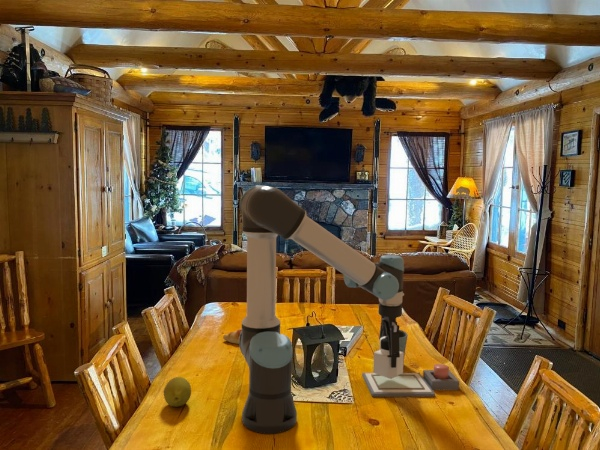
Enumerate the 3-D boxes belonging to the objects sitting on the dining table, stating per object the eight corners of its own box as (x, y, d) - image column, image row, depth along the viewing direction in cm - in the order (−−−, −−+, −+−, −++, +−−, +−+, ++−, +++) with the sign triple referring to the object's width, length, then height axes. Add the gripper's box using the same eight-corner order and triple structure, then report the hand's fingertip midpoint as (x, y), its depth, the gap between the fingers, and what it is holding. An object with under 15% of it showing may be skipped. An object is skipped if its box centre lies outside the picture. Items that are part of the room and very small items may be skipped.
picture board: (434, 396, 152) (435, 391, 152) (372, 396, 151) (372, 392, 151) (419, 375, 168) (419, 371, 168) (362, 375, 167) (362, 371, 167)
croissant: (222, 352, 195) (220, 338, 191) (224, 333, 204) (223, 320, 199) (274, 351, 196) (274, 338, 191) (275, 333, 204) (275, 319, 200)
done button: (450, 381, 159) (451, 369, 159) (436, 381, 159) (436, 369, 158) (445, 375, 164) (445, 364, 164) (431, 375, 164) (431, 364, 163)
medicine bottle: (403, 373, 159) (404, 337, 158) (391, 379, 154) (392, 343, 153) (384, 367, 164) (386, 332, 163) (372, 373, 159) (374, 337, 158)
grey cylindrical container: (388, 357, 185) (390, 326, 184) (411, 365, 178) (413, 333, 176) (372, 364, 178) (373, 332, 177) (395, 372, 171) (397, 339, 169)
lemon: (168, 396, 147) (168, 371, 147) (194, 397, 148) (194, 372, 147) (158, 414, 137) (158, 386, 136) (186, 414, 137) (186, 387, 136)
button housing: (458, 390, 157) (459, 381, 157) (431, 390, 157) (432, 381, 157) (448, 378, 166) (449, 370, 166) (422, 378, 166) (423, 370, 165)
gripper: (412, 312, 146) (409, 384, 148) (393, 294, 168) (390, 356, 170) (387, 312, 145) (385, 384, 148) (371, 294, 167) (369, 356, 170)
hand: (388, 369), depth 159 cm, fingers closed on medicine bottle, 10 cm apart
